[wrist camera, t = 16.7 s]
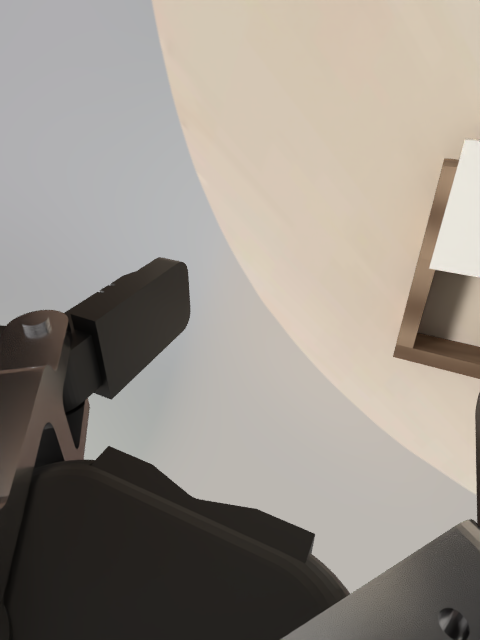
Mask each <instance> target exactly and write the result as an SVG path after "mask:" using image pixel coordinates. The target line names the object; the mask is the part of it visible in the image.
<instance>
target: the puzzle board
mask: <svg viewBox="0 0 480 640" xmlns="http://www.w3.org/2000/svg"><path fill="white" fill-rule="evenodd" d="M458 163H459V160H455V159H444V162H443V166H442V170H441V174H440V178H439V182H438V185H437V189H436V193H435V197H434V201H433V205H432V208H431V212H430V216H429V220H428V224H427V228H426V232H425V235H424V239H423V243H422V247H421V251H420V255H419V258H418V262H417V266H416V270H415V274H414V278H413V282H412V285H411V289H410V293H409V297H408V301H407V305H406V308H405V312H404V316H403V320H402V324H401V328H400V332H399V335H398V339H397V343H396V347H395V351H394V355H393V357H396V358H400V359H404V360H408V361H412V362H416V363H420V364H424V365H427V366H431V367H435V368H439V369H443V370H447V371H451V372H455V373H459V374H463V375H467V376H471V377H474V378H478V379H480V347H477V346H472V345H468V344H464V343H459V342H455V341H451V340H446V339H442V338H438V337H433V336H429V335H425V334H420V333H417V332H418V328H419V325H420V321H421V318H422V314H423V311H424V307H425V304H426V300H427V297H428V293H429V290H430V286H431V283H432V279H433V276H434V272H435V270H434V269H429V267H430V263H431V260H432V256H433V252H434V249H435V245H436V242H437V238H438V235H439V231H440V227H441V224H442V220H443V217H444V213H445V209H446V206H447V202H448V199H449V195H450V191H451V188H452V184H453V181H454V177H455V173H456V170H457V166H458Z"/></svg>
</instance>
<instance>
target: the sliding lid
mask: <svg viewBox="0 0 480 640" xmlns="http://www.w3.org/2000/svg"><path fill="white" fill-rule="evenodd" d="M429 269H434V270H440V271H446V272H451V273H457V274H462V275H468V276H474V277H479V278H480V139H466V138H465V141H464V145H463V148H462V152H461V156H460V159H459V163H458V166H457V170H456V173H455V177H454V181H453V184H452V188H451V191H450V195H449V199H448V202H447V206H446V209H445V213H444V217H443V220H442V224H441V227H440V231H439V235H438V238H437V242H436V245H435V249H434V252H433V256H432V260H431V263H430V267H429Z"/></svg>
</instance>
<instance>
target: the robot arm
mask: <svg viewBox="0 0 480 640" xmlns="http://www.w3.org/2000/svg"><path fill="white" fill-rule="evenodd" d="M189 297H190V296H189V282H188V269H187V266H186V264H185V263H183V262H179V261H175V260H170V259H166V258H160V257H159V258H157V259H155V260H153V261H152V262H150V263H149V264H147V265H146V266H144V267H142V268H141V269H139V270H138V271H136V272H133V273H130V274H127V275H124V276H122V277H120V278H119V279H117V280H116V281H114V282H113V283H111V285H110V286H109V285H108V286H106V287H105V288H103V289H101V290H100V292H97V293H95V294H94V295H92V296H90V297H89V298H87V299H86V300H84V301H82V302H81V303H79V304H78V305H76V306H75V307H73V308H71V309H70V310H68V311H67V312H65V313H62V312H60V311H56V310H39V311H33V312H29V313H26V314H23V315H21V316H19V317H17V318H15V319H13V320H12V321H10V322H9V323H8V324H7V326H0V640H480V393H479V396H478V400H477V405H476V413H475V421H476V474H477V523H476V522H475V521H474V520H472V519H471V520H466V521H464V522H462V523H460V524H458V525H456V526H455V527H453V528H452V529H450V530H449V531H447V532H445V533H444V534H442V535H441V536H439V537H438V538H436V539H435V540H433V541H431V542H430V543H429V544H427V545H425V546H424V547H422V548H421V549H419V550H418V551H416V552H414V553H413V554H411V555H410V556H408V557H407V558H405V559H404V560H402V561H401V562H399V563H398V564H396V565H394V566H393V567H391V568H390V569H388V570H387V571H385V572H384V573H382V574H381V575H379V576H378V577H376V578H375V579H373V580H371V581H370V582H368V583H367V584H365V585H364V586H362V587H361V588H359V589H357V590H356V591H354V592H353V593H351V594H350V593H349V592H348V590H347V589H346V587H345V586H344V585H343V584H342V583H341V581H340V580H339V579H338V578H337V577H336V575H335V574H334V573H332V572H331V571H330V570H329V569H328V568H327V567H326V566H325V565H324V564H323V563H322V562H321V561H320V560H318V559H317V558H315V556H313V555H312V554H311V553H312V547H313V542H314V537H315V534H314V533H311V532H309V531H307V530H304V529H302V528H300V527H297V526H295V525H293V524H290V523H288V522H286V521H283V520H281V519H279V518H276V517H274V516H272V515H269V514H267V513H265V512H262V511H260V510H258V509H253V508H247V507H241V506H235V505H228V504H223V503H217V502H211V501H205V500H199V499H196V498H193V497H192V496H190V495H189V494H187V493H186V492H185V491H184V490H183V489H181V488H180V487H179V486H178V485H177V484H175V483H174V482H173V481H172V480H170V479H169V478H168V477H167V476H166V475H164V474H163V473H162V472H161V471H159V470H158V469H157V468H156V467H155V466H153V465H152V464H150V463H147V462H145V461H143V460H140V459H138V458H136V457H133V456H131V455H129V454H126V453H124V452H121V451H119V450H117V449H115V448H112V447H110V446H108V447H107V448H106V449H105V450H104V452H103V453H102V454H101V455H100V456H99V457H98V458H97V459H96V460H84V451H85V443H86V434H87V426H88V418H89V409H90V405H89V401H88V397H89V396H90V395H91V394H92V393H96V394H98V395H101V396H104V397H107V398H109V399H112V398H113V397H114V396H116V395H117V394H118V393H119V392H120V391H121V390H122V389H123V388H124V387H125V386H126V385H127V384H128V383H129V382H130V381H131V380H132V379H133V378H134V377H135V376H136V375H137V374H139V373H140V372H141V371H142V370H143V369H144V368H145V367H146V366H147V365H148V364H149V363H150V362H151V361H152V360H153V359H154V358H155V357H156V356H157V355H158V354H159V353H161V352H162V351H163V349H165V348H166V347H167V346H168V345H169V344H170V343H171V342H172V341H173V340H174V339H175V338H176V337H177V336H178V335H179V334H180V333H181V332H182V331H183V330H184V329H185V328H186V326H187V324H188V321H189V318H190V298H189Z"/></svg>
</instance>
